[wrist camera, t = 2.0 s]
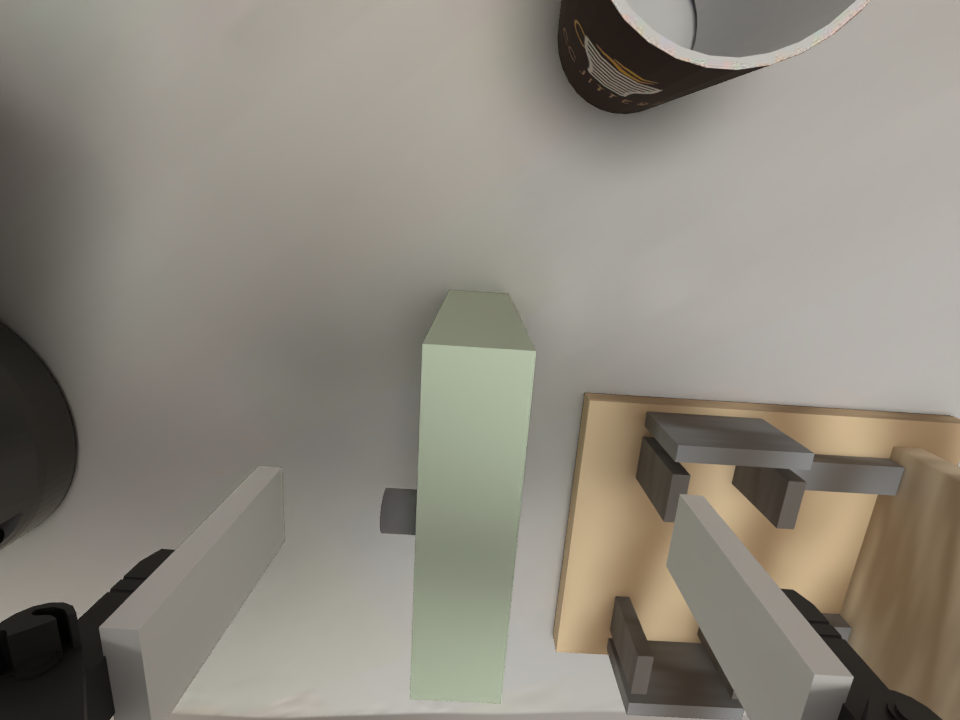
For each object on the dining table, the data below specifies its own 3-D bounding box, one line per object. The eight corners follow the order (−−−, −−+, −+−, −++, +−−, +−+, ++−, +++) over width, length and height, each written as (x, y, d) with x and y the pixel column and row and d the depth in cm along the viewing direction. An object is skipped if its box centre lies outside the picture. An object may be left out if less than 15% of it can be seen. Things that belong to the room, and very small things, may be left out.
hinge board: (552, 635, 30) (595, 867, 19) (584, 392, 25) (663, 512, 15) (867, 651, 30) (1087, 889, 19) (950, 415, 26) (1290, 548, 15)
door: (418, 498, 27) (372, 697, 16) (426, 288, 24) (376, 340, 12) (491, 502, 27) (500, 703, 16) (508, 293, 24) (536, 351, 12)
